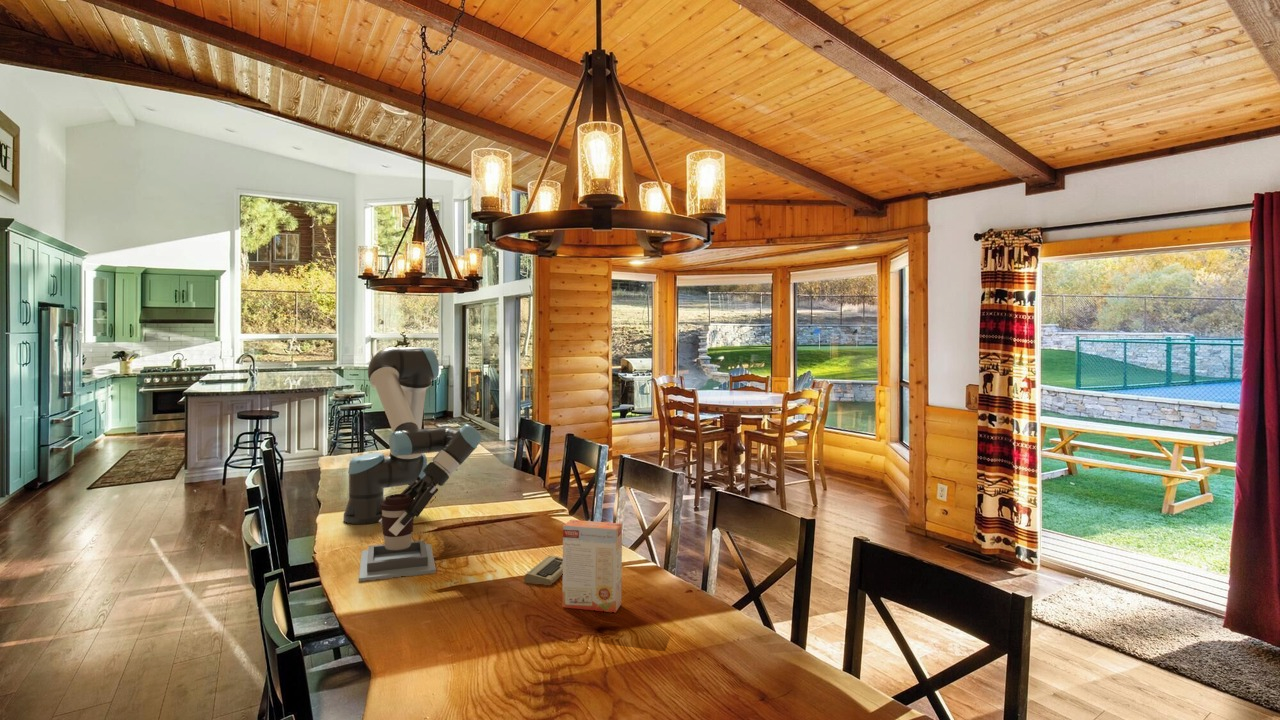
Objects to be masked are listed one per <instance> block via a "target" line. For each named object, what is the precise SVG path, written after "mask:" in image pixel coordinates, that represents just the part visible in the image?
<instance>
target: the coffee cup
mask: <svg viewBox="0 0 1280 720" xmlns="http://www.w3.org/2000/svg"><path fill="white" fill-rule="evenodd" d="M384 499H385V500H384V501H382V502H380V509H381V510H382V524H381V525H382V526H381V527H382V534H383V542H384V543H383V544H385V548H386V549H388V550H402V549H406V548H408V547H410V546H411V542H412V538H413V535H412V534H413V532H414V520H415V519H414V518H415V517H414V518H413V517H412V519H411V520H410V521H409V522H408V523H407V524H406V526H405V527H404V528H403V529H402V530H401V531H400V532H399V533H398V535H397V536H395V535H394V534H393V533H392V532H390V531H389V529H390V528H391V527H392V525H393V524H394V523H395V522H396V521H397V520H398V519H399V518H400V517H401V515H402V514H403V513H404V512H406V511H405V510H406V509H409V507H410V506H411V504H412V502H413V501H414V499H415V498H414V499H412V498H411V496H410V495H408V494H401V493H393V494H389V495H387V496H385V497H384ZM406 513H407V512H406Z"/></svg>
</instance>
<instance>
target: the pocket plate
mask: <svg viewBox="0 0 1280 720" xmlns="http://www.w3.org/2000/svg"><path fill="white" fill-rule="evenodd" d="M436 568H437V567H436V565H435V559H434V554H433V548H432V544H431V543H426V540H424V539H423V540H414V541H411V546H410V547H408V548H406V549H402V550H388V549H386V548H385V543H383V544H374V545H372V544H371V545H368V549H364V550H361V557H360V565H359V573H358V582H359V581H363V582H366V581H365V580H372V581H377V580H376V579H380V580H387V579H388V578H389V579H394V578H393V577H398V578H402V577H401V576H406V577H414V576H421V575H428V574H429V575H430V574H436V573H437V569H436Z"/></svg>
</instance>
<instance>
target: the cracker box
mask: <svg viewBox="0 0 1280 720" xmlns="http://www.w3.org/2000/svg"><path fill="white" fill-rule="evenodd" d="M622 554H623V524H622V523H619V522H607V521H591V520H580V519H579V520H578V519H570V520H569V521H567V522H565V524H564V525H562V558H563V575H562V591H561V592H562V593H561V594H562V597H561V598H562V608H568V609H577V610H585V611H594V610H595V611H594V612H603V611H604V613H605V612H606V613H612V612H614V614H615V613H617V611H619V609H620V606H621V605H622V587H623V586H622V585H623V584H622V583H623V582H622V578H623V577H622V576H623V575H622V574H623V573H622V572H623V570H622V569H623V562H622V561H623V560H622V559H623V557H622V556H623V555H622Z"/></svg>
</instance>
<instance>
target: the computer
mask: <svg viewBox="0 0 1280 720" xmlns="http://www.w3.org/2000/svg"><path fill="white" fill-rule="evenodd" d="M562 574H563V557H559V556H556V555H548V556H547V557H545V558H544V559H542V561H540V562H539V563H537V564H535V566H534V567H533V568H531V569H530V570H529V571H528V572H526V573H525V575H524V581H523V582H525V584H530V583H532V585H538V584H545V585H544V586H546V585H551V584H552V583H553V584H554V583H555V582H557V580H558V579H559V578H561V577H560V576H561V575H562ZM562 576H563V575H562ZM553 584H552V585H553ZM552 585H551V586H552Z"/></svg>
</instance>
